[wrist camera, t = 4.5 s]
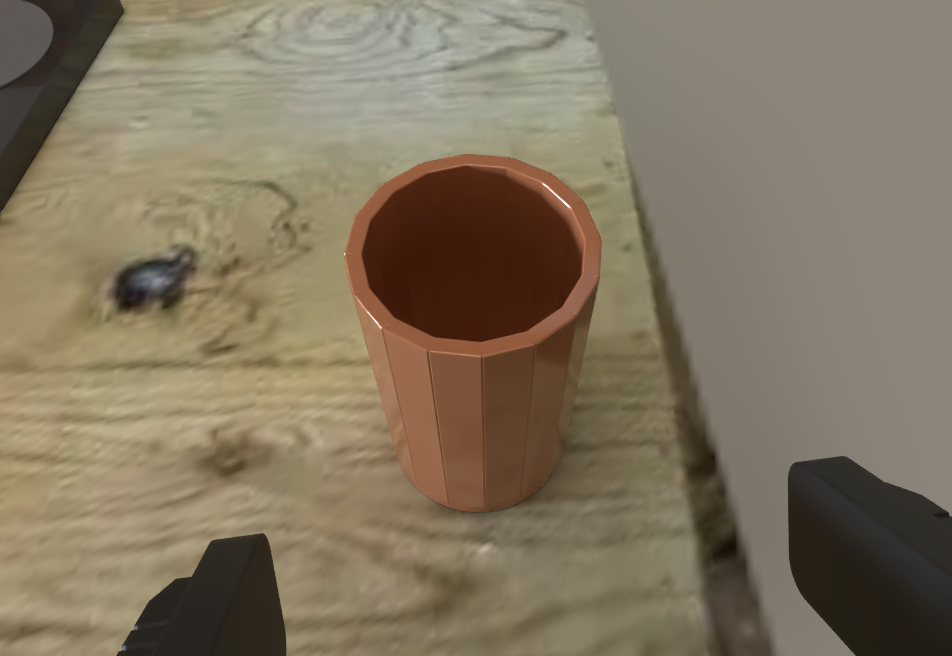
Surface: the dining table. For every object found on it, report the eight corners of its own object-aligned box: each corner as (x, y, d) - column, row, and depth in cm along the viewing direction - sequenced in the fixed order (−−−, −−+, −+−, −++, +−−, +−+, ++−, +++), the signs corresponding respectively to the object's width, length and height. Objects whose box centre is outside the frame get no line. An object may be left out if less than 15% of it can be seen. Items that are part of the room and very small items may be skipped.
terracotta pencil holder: (569, 365, 27) (605, 164, 18) (557, 523, 24) (594, 370, 15) (410, 348, 27) (374, 145, 19) (378, 501, 24) (318, 340, 16)
